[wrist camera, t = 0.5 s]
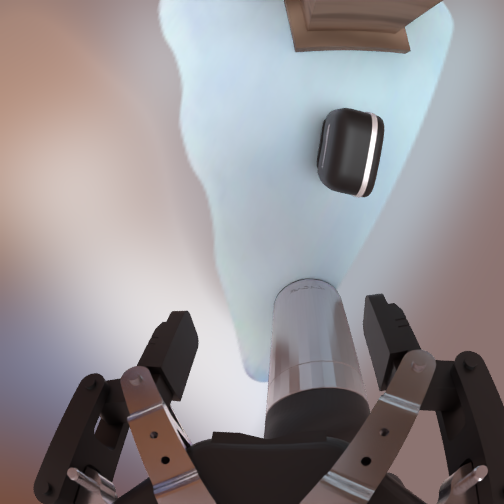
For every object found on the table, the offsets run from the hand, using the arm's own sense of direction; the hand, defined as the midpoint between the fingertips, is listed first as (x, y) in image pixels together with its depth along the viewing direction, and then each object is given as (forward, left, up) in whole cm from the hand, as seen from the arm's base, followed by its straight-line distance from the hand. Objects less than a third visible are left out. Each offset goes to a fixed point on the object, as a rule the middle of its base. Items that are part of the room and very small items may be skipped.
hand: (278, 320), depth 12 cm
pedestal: (+23, -11, -21) cm, 33 cm away
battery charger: (+6, -6, -21) cm, 23 cm away
